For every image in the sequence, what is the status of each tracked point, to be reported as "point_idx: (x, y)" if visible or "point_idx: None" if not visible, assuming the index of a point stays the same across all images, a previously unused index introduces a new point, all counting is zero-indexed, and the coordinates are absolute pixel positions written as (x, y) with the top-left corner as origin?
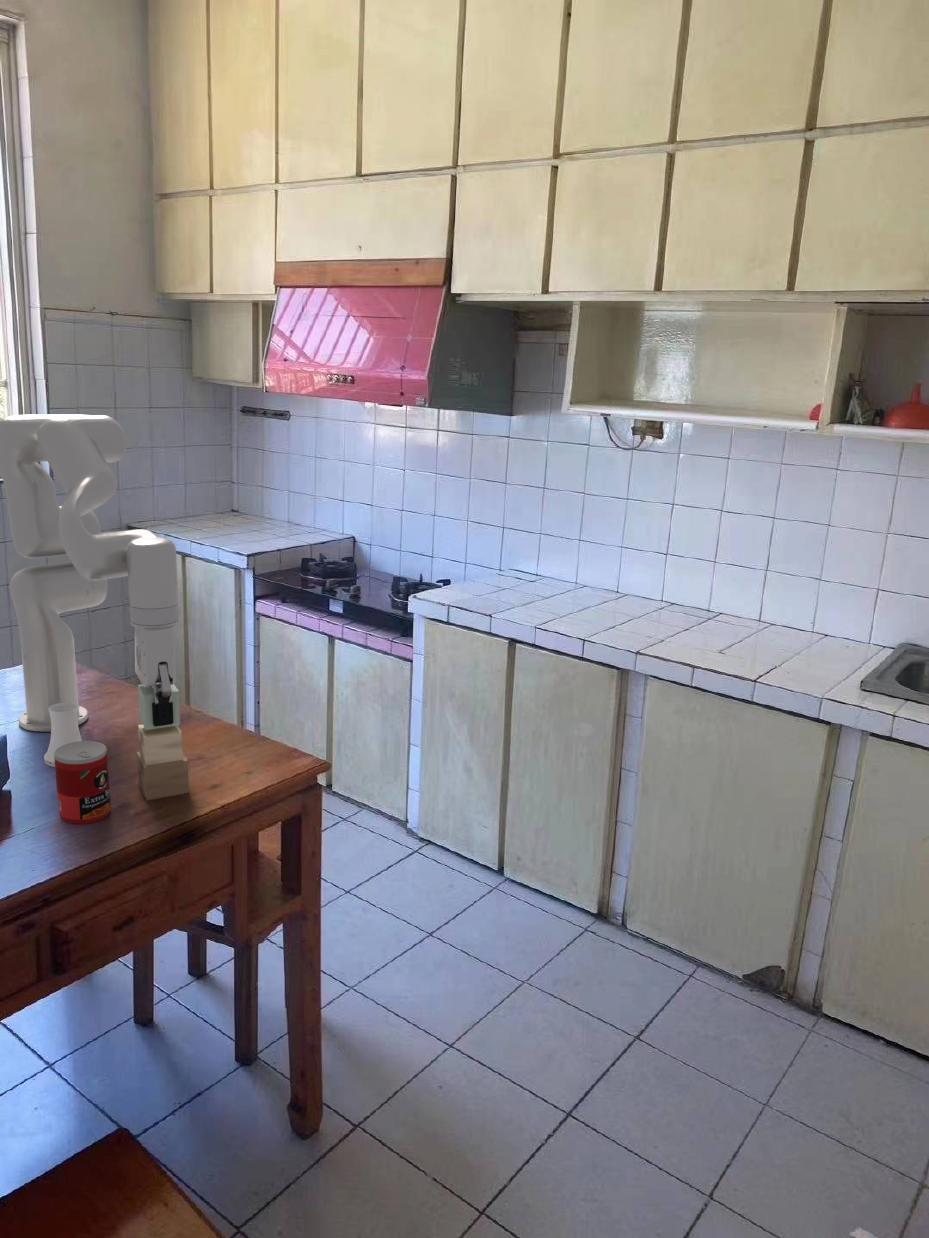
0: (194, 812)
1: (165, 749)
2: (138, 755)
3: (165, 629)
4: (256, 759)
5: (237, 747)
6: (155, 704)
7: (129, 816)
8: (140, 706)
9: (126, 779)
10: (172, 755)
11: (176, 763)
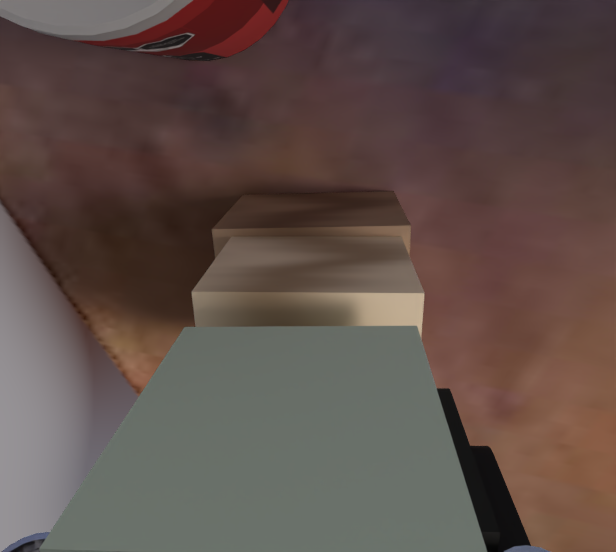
0: (112, 313)
1: None
2: (362, 226)
3: None
4: None
5: (526, 516)
6: (18, 542)
7: (134, 120)
8: (352, 394)
9: (448, 154)
10: None
11: None
